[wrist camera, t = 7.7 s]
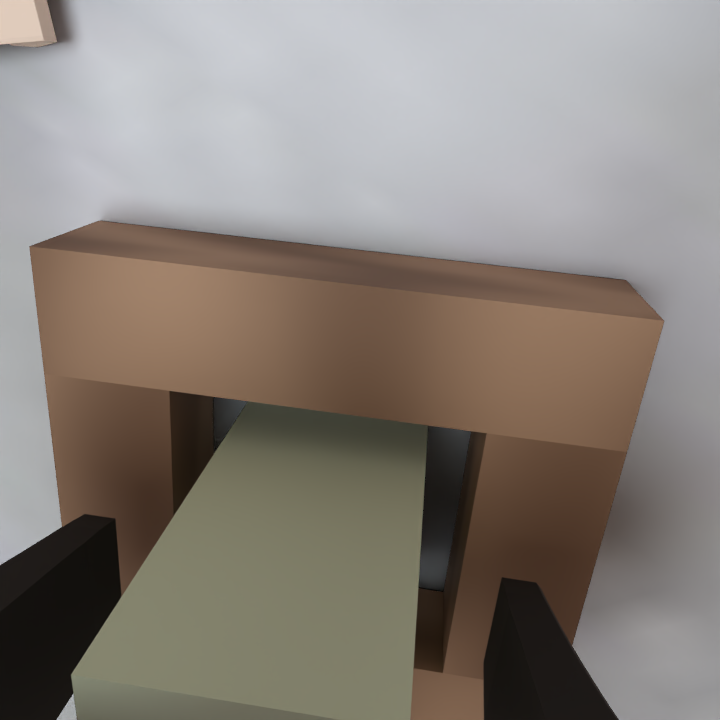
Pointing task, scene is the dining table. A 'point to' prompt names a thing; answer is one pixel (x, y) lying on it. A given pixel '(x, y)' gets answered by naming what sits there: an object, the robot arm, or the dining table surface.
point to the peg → (275, 581)
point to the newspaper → (26, 23)
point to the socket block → (350, 397)
